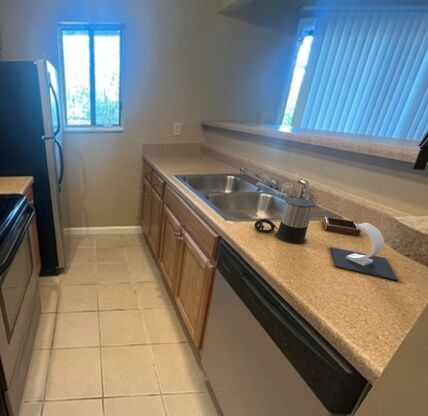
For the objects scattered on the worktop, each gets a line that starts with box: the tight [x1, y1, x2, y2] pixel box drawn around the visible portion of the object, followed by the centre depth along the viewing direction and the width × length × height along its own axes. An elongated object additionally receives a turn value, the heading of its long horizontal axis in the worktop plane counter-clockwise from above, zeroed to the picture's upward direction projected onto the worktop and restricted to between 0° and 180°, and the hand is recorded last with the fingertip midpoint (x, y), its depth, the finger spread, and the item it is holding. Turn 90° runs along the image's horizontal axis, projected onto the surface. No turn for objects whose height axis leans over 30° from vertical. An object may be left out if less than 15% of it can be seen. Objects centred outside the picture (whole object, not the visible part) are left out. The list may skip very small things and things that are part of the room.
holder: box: [323, 216, 362, 237], centre depth 111 cm, size 10×10×2 cm
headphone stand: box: [346, 222, 385, 266], centre depth 86 cm, size 5×6×12 cm
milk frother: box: [254, 197, 316, 244], centre depth 105 cm, size 14×16×15 cm
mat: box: [330, 246, 399, 282], centre depth 88 cm, size 14×14×1 cm
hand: (425, 174), depth 87 cm, fingers open, 13 cm apart
